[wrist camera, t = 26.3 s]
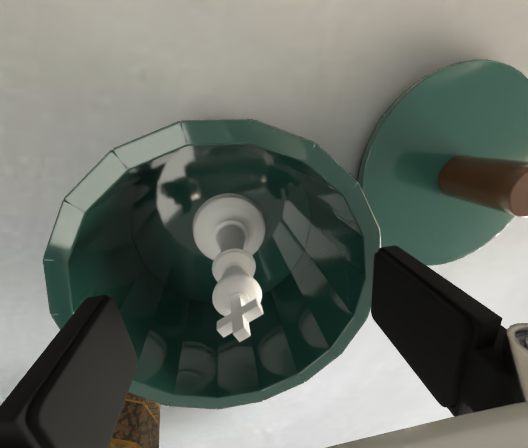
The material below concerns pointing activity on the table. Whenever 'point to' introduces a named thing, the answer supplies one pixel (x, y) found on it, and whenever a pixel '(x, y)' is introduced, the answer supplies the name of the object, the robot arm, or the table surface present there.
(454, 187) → the lid
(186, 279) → the pot
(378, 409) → the table surface
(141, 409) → the ceramic cup
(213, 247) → the chess piece
